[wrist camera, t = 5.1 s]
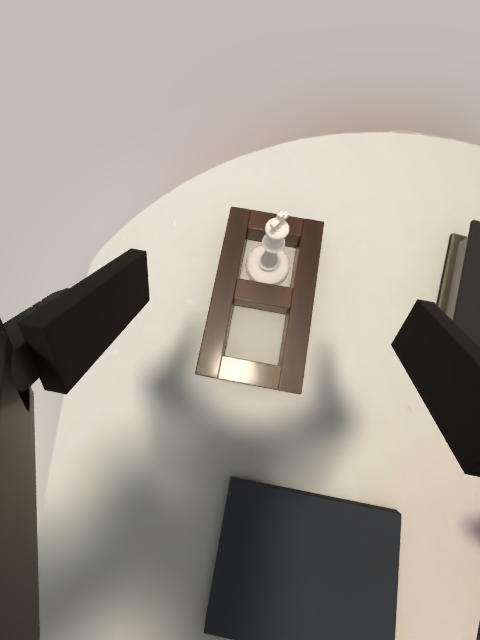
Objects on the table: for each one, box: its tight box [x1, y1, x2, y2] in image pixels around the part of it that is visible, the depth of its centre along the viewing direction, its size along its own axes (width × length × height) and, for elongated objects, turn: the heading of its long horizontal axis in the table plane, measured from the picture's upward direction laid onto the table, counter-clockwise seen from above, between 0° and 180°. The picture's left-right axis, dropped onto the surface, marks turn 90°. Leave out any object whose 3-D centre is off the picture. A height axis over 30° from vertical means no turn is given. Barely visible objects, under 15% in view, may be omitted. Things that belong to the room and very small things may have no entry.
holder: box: [195, 207, 324, 394], centre depth 28 cm, size 10×18×2 cm, turn 169°
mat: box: [204, 477, 401, 640], centre depth 24 cm, size 16×12×1 cm
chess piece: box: [246, 210, 289, 285], centre depth 25 cm, size 5×5×10 cm
